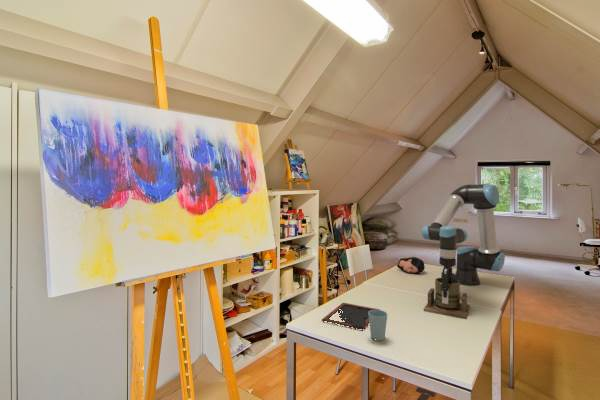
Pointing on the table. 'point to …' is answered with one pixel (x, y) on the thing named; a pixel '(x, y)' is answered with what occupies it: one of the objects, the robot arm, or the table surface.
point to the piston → (452, 294)
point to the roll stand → (454, 312)
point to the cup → (377, 324)
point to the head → (411, 265)
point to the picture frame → (351, 315)
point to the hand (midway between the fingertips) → (447, 299)
